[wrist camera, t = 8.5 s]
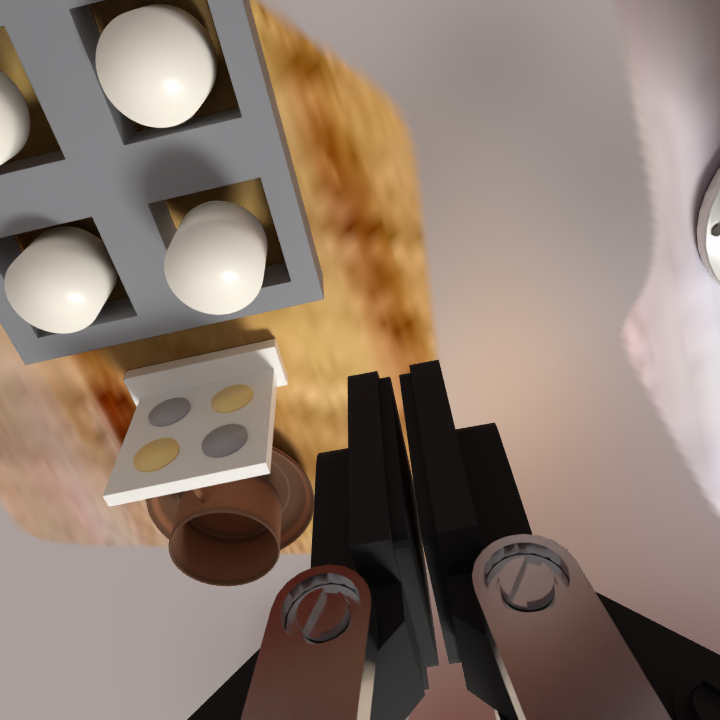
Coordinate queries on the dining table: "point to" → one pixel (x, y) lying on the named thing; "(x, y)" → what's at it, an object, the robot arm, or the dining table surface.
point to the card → (198, 422)
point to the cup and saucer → (236, 523)
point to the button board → (143, 176)
